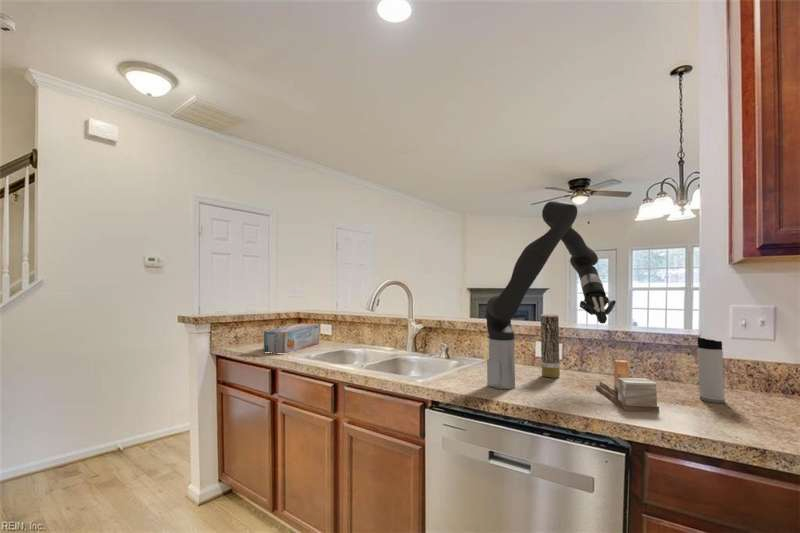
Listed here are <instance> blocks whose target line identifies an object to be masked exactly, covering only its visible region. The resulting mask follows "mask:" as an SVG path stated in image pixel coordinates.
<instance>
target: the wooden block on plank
mask: <svg viewBox="0 0 800 533" xmlns="http://www.w3.org/2000/svg"><path fill="white" fill-rule="evenodd" d="M595 389H596V390H597V391H598V392H600V393H601V394H603V395H604V396H605V397H606V398H608V399H609V400H610V401H612V402H614V403H615V404H616V405H617V406H619V407H620V408H621V409H624V411H626V412H644V413H645V412H647V413H649V412H650V413H659V412H660V406H658V396H657V395H658V394H657V393H658V392H657V390H658V389H657V383H656V382H655V381H653V380H650V379H648V378H635V377H628V378H618V390H616V389H614V384H608V383H607V382H605V381H604V380H599V384H595Z"/></svg>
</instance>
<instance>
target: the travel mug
mask: <svg viewBox="0 0 800 533" xmlns="http://www.w3.org/2000/svg"><path fill="white" fill-rule="evenodd" d="M697 363H698V364H697V366H698V387H699V388H698V391H699V399H700V400H701V401H703V400H704V401H703V402H706V401H708V402H707V403H711V402H712V404H724V403H725V402H726V397H725V395H726V394H725V377H724V354H723V341H721V340H714V339H710V338H704V337H697Z"/></svg>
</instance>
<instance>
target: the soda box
mask: <svg viewBox="0 0 800 533" xmlns="http://www.w3.org/2000/svg"><path fill="white" fill-rule="evenodd" d="M319 338H320V324H319V323H297V324H293V325H287V326H283V327H279V328H273V329H269V330H264V332H263V353H264V352H270V353H271V352H272V353H289V352H292V351H295V352H297V351H296V350H298V351H300V349H301V350H304V349H306V347H307V348H310V347H312V346H316V345H318V344H319V343H320V339H319ZM303 348H304V349H303ZM292 353H293V352H292ZM289 354H290V353H289Z"/></svg>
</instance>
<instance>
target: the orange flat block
mask: <svg viewBox="0 0 800 533" xmlns="http://www.w3.org/2000/svg"><path fill="white" fill-rule="evenodd" d="M628 366H629V362H628V361H626V360H624V359H623V360H619V359H614V360H613V385H614V389H616V390H618V378H629V367H628Z"/></svg>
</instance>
